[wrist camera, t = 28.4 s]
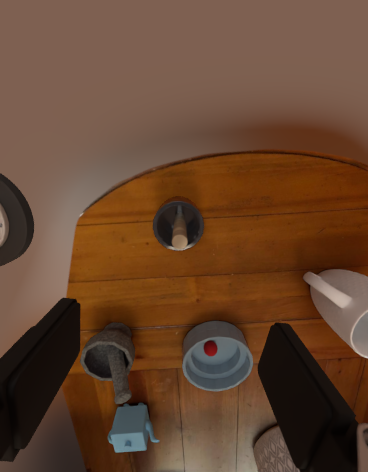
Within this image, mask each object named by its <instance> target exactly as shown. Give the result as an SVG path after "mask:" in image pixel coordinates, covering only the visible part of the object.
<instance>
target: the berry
mask: <svg viewBox="0 0 368 472" xmlns="http://www.w3.org/2000/svg"><path fill="white" fill-rule="evenodd" d="M217 350H218V348H217V345H216V343H215V342H214V341H207V342H206V343H205V344H204V352H205V354H206V355H208V356H214V355H215V354H216V353H217Z"/></svg>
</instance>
